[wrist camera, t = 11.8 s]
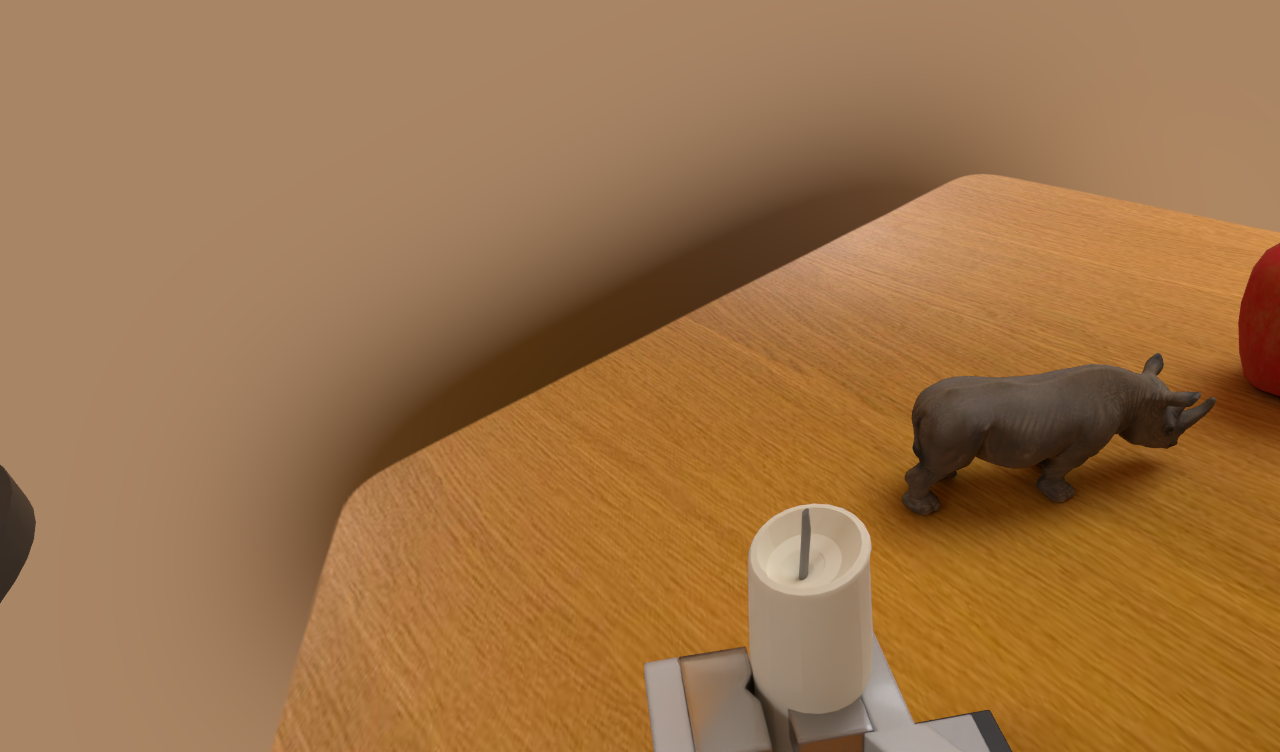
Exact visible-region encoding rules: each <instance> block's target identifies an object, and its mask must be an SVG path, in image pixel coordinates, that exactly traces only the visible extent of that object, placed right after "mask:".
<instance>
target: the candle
mask: <svg viewBox="0 0 1280 752" xmlns="http://www.w3.org/2000/svg"><path fill="white" fill-rule="evenodd" d="M871 549H872V548H871V540H870V535H869V533H868V531H867V529H866V527H865V525H864V524H863V523H862V522H861V521H860V520H859V519H858V518H857V517H856V516H855V515H854V514H852V513H850V512H848V511H846V510H845V509H843V508H839V507H836V506H832V505H825V504H808V505H800V506H796V507H793V508H790V509H787V510H785V511H783V512H781V513H779V514H777V515H775V516H774V517H772V518H771V519H770V520H769V521H768V522H767V523H765V524H764V525H763V526H762V527H761V528H760V530H759V531H758V532H757V534H756V535H755V537H754V538H753V541H752V544H751V546H750V549H749V554H748V601H749V647H750V662H751V668H752V672H753V681H754V691H755V697H756V698H757V699H758V700H760V702H761V706H762V709H763V713H764V717H765V721H766V725H767V729H768V733H769V737H770V741H771V745H772V749H773V752H793V749H792V745H791V742H790V739H789V723H788V709H791V710H795V711H798V712H802V713H811V714H823V713H828V712H833V711H838V710H840V709H842V708H844V707H846V706H848V705H850V704H852V703H853V702H854V701H855V700H856V699H857V698H859V697H861V695H862V693H863V692H864V690H865V688H866V686H867V685H868V683H869V681H870V676H871V671H872V650H873V623H872V601H871V578H870V553H871Z"/></svg>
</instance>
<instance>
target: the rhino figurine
mask: <svg viewBox="0 0 1280 752" xmlns="http://www.w3.org/2000/svg"><path fill="white" fill-rule="evenodd" d="M1163 365H1164V364H1163V358H1162V356H1161V354H1159V353H1157V354H1155V355H1154V356H1152V357H1151V358H1150V359H1149V360H1148V361H1147V362H1146V364H1145V366H1144V370H1143V372H1142V374H1139V373H1134V372H1131V371H1129V370H1126V369H1123V368H1120V367H1114V366H1109V365H1097V364H1090V365H1083V366H1078V367H1073V368H1067V369H1061V370H1055V371H1051V372H1047V373H1043V374H1037V375H1028V376H1016V377H1001V378H993V377H976V376H960V377H952V378H947V379H944V380H941V381H939V382H937V383H935V384H933V385H931V386H930V387H928V388H926V389H925V390H923V391H922V392H921V393H920V395H919V396H918V398H917V400H916V402H915V405H914V407H913V410H912V423H913V428H914V443H913V451H914V453H915V455H916V456H917V457H918V458H919V461H920V462H919V463H918V464H917V465H916V466H915V467H913V468H911V469H910V470H909V471H907V472H906V474H905V481H906V482H907V483H908V485H909V490H908V492H906V493H905V494H904V495H903V497H902V502H903V503H904V505H905V506H906V507H907V508H909V509H910V510H912V511H914V512H916V513H919V514H923V515H927V514H930V513H931V512H933V511H937V510H939V509H940V507H941V503H940V502H939V500H938V498H937V496H936V495H935V494H934V493H933V492H932V491H931V490H930V488H931V487H932V486H933V485H934V484H935V483H936V482H938V481H939V480H940V479H942V478H950V477H955V476H956V474H957V471H956V470H959V469H961V468H964V467H966V466H968V465H969V464H970V463H971V462H972V460H973V459H974V457H978V458H980V459H982V460H984V461H987V462H990V463H993V464H996V465H999V466H1003V467H1006V468H1013V469H1022V468H1027V467H1030V466H1034V465H1036V464H1037V465H1039V466H1042V475H1041V477H1040V478H1039V479H1038V480H1037V483H1036V487H1037V488H1038V489H1039V491H1041V492H1042V493H1043V494H1045V495H1046V496H1047V497H1049V498H1050V499H1051V500H1053V501H1055V502H1064V501H1065V500H1066V499H1068V498H1071V497H1073V496H1074V493H1075V491H1074V488H1073V487H1072V486H1071V485H1070V484H1069V483H1067V482H1066V481H1065V479H1064V476H1065V475H1066V474H1067V473H1068V472H1069V471H1071V470H1072V469H1074V468H1076V467H1078V466H1080V465H1082V464H1083V463H1084V462H1085V461H1086V460H1087V459H1088V458H1089V457H1092V456H1094V455H1096V454H1097V453H1099V451H1100V450H1101V449H1102V448H1103V447H1104V446H1105V445H1106V444H1107V443H1108V442H1109V441H1110V440H1111V438H1112V437H1113V435H1114V434H1119V435H1120V436H1121V437H1122V438H1123V439H1125V440H1126V441H1128V442H1129V443H1131V444H1135V445H1142V446H1145V447H1150V448H1166V449H1168V448H1169V447H1171V446H1174V445H1176V444H1177V440H1178V437H1179V436H1180V435H1181V434H1182V433H1184V431H1185V430H1186V429H1188V428H1189V427H1191V426H1192V425H1194V424H1195V423H1196V422H1198V421H1199V420H1200V419H1201V418H1202V417H1204V416H1205V415H1206V414H1207V413H1208V412H1209V411H1210V410H1211V409H1212V408H1213V406H1214V404H1215V402H1216V398H1215V397H1211V398H1209V399H1207V400H1206V401H1205V402H1204V403H1202V404H1201V405H1199V406H1197V407H1195V408H1192V409H1188V410H1184V409H1185V407H1190V406H1192V405H1193V404H1194V403H1195V402H1196V401H1197V400H1198V399H1199V398H1200V396H1201V393H1199V392H1171V391H1170V390H1169V389H1168V387H1167V386H1166V385H1165V384H1164V383H1163V382H1162V381H1161V380H1160V379H1159V378H1158V377H1157V375H1158V374H1159V373H1160V372H1161V370H1162V369H1163ZM1183 410H1184V411H1183Z"/></svg>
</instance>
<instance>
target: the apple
mask: <svg viewBox="0 0 1280 752" xmlns="http://www.w3.org/2000/svg"><path fill="white" fill-rule="evenodd" d="M1238 325H1239V353H1240V358H1241V362H1242V367H1243V371H1244V376H1245V377H1246V378H1247V380H1248V381H1249V382H1250V383H1251V384H1252V385H1253V386H1254V387H1256V388H1258V389H1260V390H1262V391H1265V392H1268V393H1271V394H1274V395H1277V396H1280V243H1279V244H1277V245H1275V246H1274V247H1272V248H1270V249H1268V250H1266V252H1265V253H1264V254H1263V256H1262V257H1261V258H1260V260H1259V261H1258V262H1257V263H1256V265H1255V266H1254V267H1253V270H1252V272H1251V275H1250V278H1249V281H1248V284H1247V287H1246V290H1245V293H1244V296H1243V299H1242V302H1241V308H1240V315H1239V323H1238Z"/></svg>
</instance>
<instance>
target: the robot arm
mask: <svg viewBox="0 0 1280 752" xmlns="http://www.w3.org/2000/svg"><path fill="white" fill-rule="evenodd" d="M679 661H680V664H679ZM680 667H681V669H680ZM681 673H682V674H681ZM644 675H645V683H646V691H647V699H648V707H649V715H650V723H651V731H652V739H653V747H654V752H773V749H772V745H771V741H770V737H769V733H768V729H767V725H766V721H765V717H764V713H763V709H762V706H761V702H760V700H758V699H757V698H756V697H755V691H754V681H753V672H752V668H751V664H750V661H749V657H748V653H747V650H746V647H738V648H732V649H726V650H720V651H714V652H708V653H701V654H695V655H689V656H683V657H679V659H678V657H676V658H670V659H665V660H659V661H654V662H648V663H645V670H644ZM788 723H789V739H790V742H791V745H792V749H793V752H963V751H962V750H960V749H959V748H958V747H956V746H955V745H954V744H953V743H951V742H950V741H949V740H947V739H946V738H945V737H943V736H942V735H941V734H940V733H938V732H937V731H936V730H934V729H933V728H932V727H930V726H929V725H928V724H927V723H918V724H915V723H914V721H913V719H912V717H911V714H910V712H909V710H908V708H907V705H906V703H905V701H904V699H903V696H902V694H901V692H900V690H899V688H898V685H897V683H896V681H895V679H894V676H893V674H892V672H891V670H890V667H889V665H888V663H887V661H886V658H885V656H884V654H883V652H882V650H881V647H880V645H879V643H878V641H877V638H876V636H875V634H874V632H873V650H872V671H871V676H870V681H869V683H868V685H867V686H866V688H865V690H864V692H863V693H862V695H861V697H859V698H857V699H856V700H855V701H854V702H853V703H852V704H850V705H848V706H846V707H844V708H842V709H840V710H838V711H833V712H828V713H823V714H811V713H802V712H798V711H795V710H791V709H788Z"/></svg>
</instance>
